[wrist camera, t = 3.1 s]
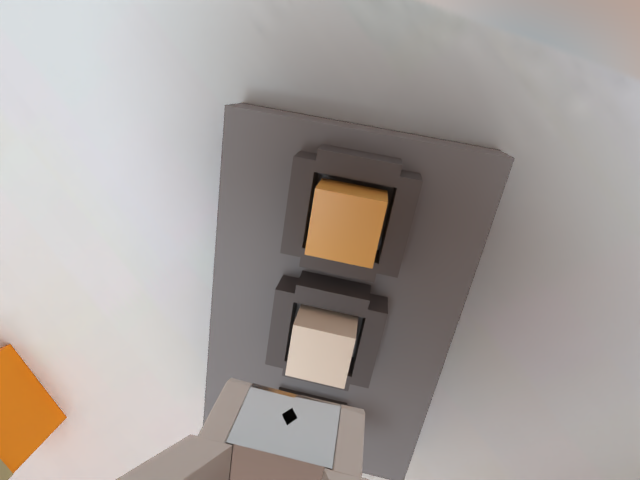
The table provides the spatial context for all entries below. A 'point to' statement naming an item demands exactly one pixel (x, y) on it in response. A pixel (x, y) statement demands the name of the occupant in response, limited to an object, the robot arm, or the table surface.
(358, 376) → the control panel
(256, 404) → the robot arm
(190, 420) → the table surface
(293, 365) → the cream button
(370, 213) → the amber button
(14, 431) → the orange juice
